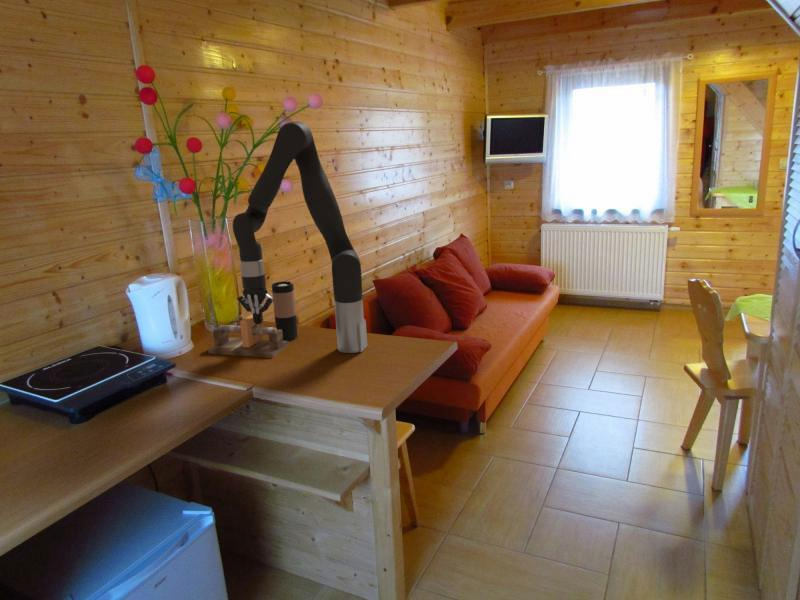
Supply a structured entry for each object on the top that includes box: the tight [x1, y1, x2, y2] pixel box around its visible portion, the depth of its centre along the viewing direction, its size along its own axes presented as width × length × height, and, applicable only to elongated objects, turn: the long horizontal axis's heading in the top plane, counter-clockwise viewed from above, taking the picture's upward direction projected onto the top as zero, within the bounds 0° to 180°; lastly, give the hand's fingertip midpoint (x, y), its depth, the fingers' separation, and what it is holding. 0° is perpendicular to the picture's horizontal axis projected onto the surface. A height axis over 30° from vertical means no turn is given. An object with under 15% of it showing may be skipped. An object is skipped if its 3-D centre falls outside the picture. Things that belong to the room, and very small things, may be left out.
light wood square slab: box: [239, 313, 263, 347], centre depth 191 cm, size 2×9×9 cm, turn 165°
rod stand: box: [207, 324, 290, 359], centre depth 192 cm, size 24×12×8 cm, turn 75°
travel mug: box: [271, 281, 299, 342], centre depth 200 cm, size 8×8×20 cm
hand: (258, 323), depth 189 cm, fingers closed
